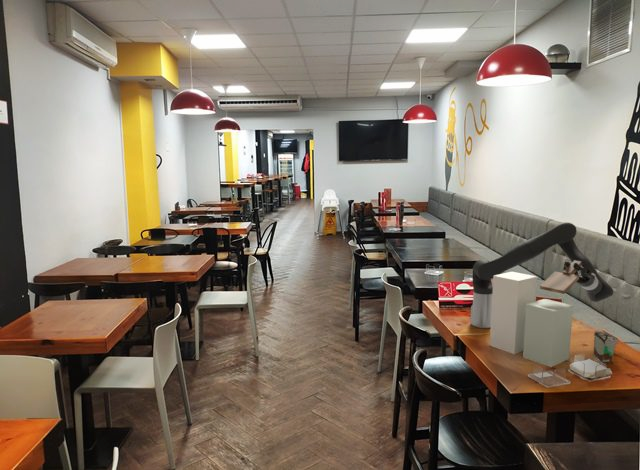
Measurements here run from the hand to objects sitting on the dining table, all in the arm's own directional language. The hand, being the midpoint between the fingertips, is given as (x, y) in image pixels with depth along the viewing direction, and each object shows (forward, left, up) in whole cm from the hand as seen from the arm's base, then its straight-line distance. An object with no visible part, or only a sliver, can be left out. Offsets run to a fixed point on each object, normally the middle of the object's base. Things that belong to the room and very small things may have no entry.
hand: (570, 264), depth 196 cm
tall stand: (-16, -14, -38) cm, 44 cm away
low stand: (0, -14, -38) cm, 41 cm away
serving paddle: (0, -2, -5) cm, 6 cm away
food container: (+15, +5, -39) cm, 42 cm away
